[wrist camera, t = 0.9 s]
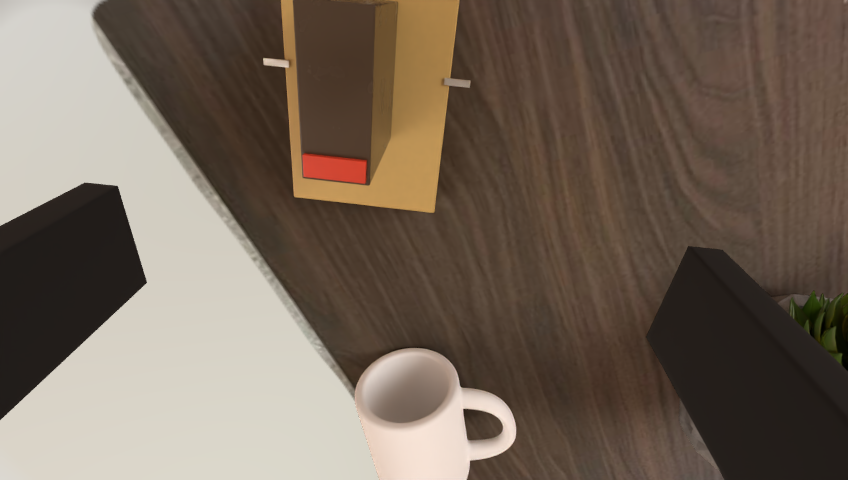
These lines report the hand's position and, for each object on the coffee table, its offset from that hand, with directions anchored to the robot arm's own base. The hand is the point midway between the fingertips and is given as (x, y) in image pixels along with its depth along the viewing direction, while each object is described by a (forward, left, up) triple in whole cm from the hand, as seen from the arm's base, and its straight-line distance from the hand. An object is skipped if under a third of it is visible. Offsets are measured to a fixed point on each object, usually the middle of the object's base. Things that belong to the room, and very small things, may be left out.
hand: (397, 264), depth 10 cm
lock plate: (0, -4, -18) cm, 18 cm away
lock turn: (-2, -4, -16) cm, 16 cm away
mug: (+24, +3, -18) cm, 30 cm away
